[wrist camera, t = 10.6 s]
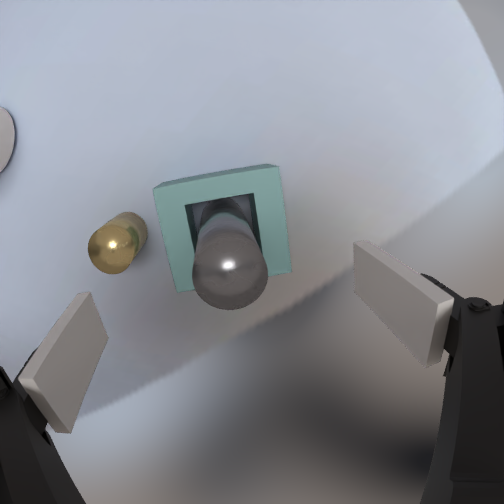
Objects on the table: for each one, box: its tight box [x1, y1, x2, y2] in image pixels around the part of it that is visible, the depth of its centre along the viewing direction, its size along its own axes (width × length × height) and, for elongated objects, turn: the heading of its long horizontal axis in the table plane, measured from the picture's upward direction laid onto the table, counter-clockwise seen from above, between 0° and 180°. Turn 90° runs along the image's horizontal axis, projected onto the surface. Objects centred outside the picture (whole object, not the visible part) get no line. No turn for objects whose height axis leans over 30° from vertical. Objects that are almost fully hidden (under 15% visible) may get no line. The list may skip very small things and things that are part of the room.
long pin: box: [192, 198, 268, 310], centre depth 23 cm, size 4×4×14 cm
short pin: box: [88, 212, 148, 274], centre depth 26 cm, size 4×4×6 cm
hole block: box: [153, 164, 292, 293], centre depth 27 cm, size 10×9×5 cm
